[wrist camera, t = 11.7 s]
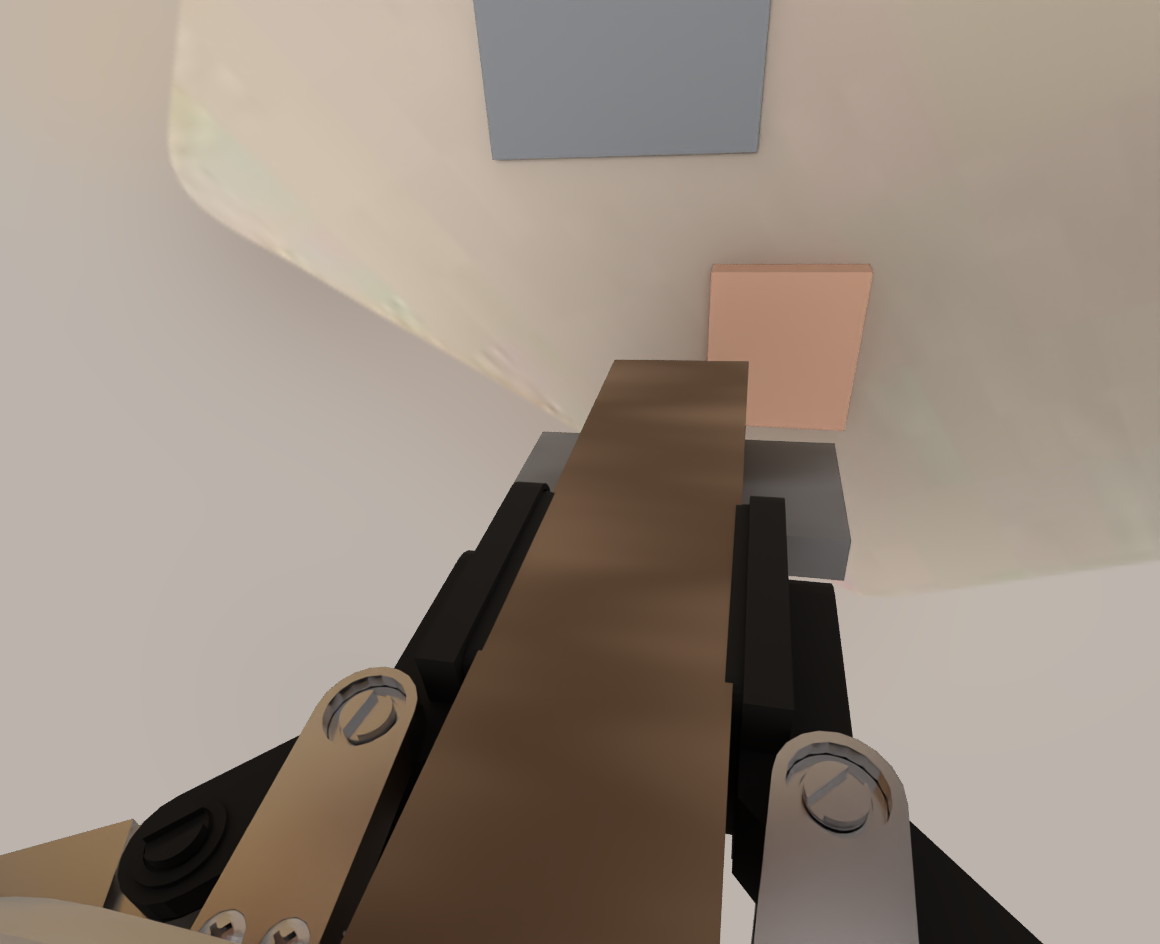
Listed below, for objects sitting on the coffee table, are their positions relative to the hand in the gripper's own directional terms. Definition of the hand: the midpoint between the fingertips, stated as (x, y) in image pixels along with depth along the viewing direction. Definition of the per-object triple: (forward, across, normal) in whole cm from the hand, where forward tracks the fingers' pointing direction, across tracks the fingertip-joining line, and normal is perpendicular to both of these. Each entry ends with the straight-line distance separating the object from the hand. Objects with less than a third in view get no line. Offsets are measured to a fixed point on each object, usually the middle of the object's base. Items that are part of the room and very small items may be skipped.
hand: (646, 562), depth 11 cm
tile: (+23, -3, +2) cm, 23 cm away
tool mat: (+23, +4, -9) cm, 25 cm away
